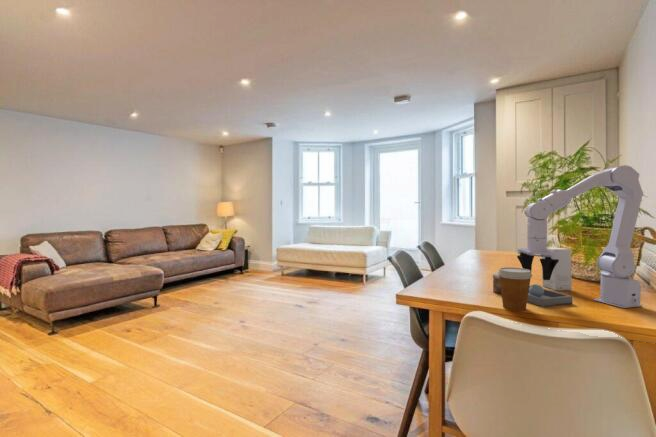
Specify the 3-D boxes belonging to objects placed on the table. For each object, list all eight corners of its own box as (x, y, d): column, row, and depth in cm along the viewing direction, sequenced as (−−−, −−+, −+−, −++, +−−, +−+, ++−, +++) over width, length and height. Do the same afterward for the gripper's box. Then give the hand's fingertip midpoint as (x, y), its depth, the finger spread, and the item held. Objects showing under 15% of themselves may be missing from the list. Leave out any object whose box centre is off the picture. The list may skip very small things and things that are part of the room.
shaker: (510, 293, 124) (510, 275, 123) (500, 294, 122) (500, 276, 122) (499, 290, 128) (500, 273, 128) (489, 291, 127) (489, 274, 126)
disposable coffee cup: (501, 301, 113) (501, 266, 113) (534, 307, 107) (534, 269, 107) (493, 308, 106) (494, 270, 105) (529, 314, 100) (529, 273, 99)
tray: (572, 303, 110) (572, 296, 110) (542, 307, 107) (542, 299, 107) (530, 292, 125) (530, 285, 125) (503, 294, 122) (504, 287, 122)
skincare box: (572, 290, 127) (572, 249, 126) (554, 291, 127) (554, 249, 126) (557, 285, 135) (557, 246, 135) (540, 285, 135) (541, 246, 135)
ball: (547, 298, 115) (547, 285, 114) (537, 299, 113) (537, 286, 113) (535, 294, 119) (535, 282, 119) (525, 296, 118) (526, 283, 117)
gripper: (510, 236, 121) (510, 274, 122) (546, 240, 107) (546, 282, 108) (526, 235, 123) (526, 273, 124) (564, 239, 109) (563, 281, 110)
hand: (536, 277), depth 116 cm, fingers open, 7 cm apart
